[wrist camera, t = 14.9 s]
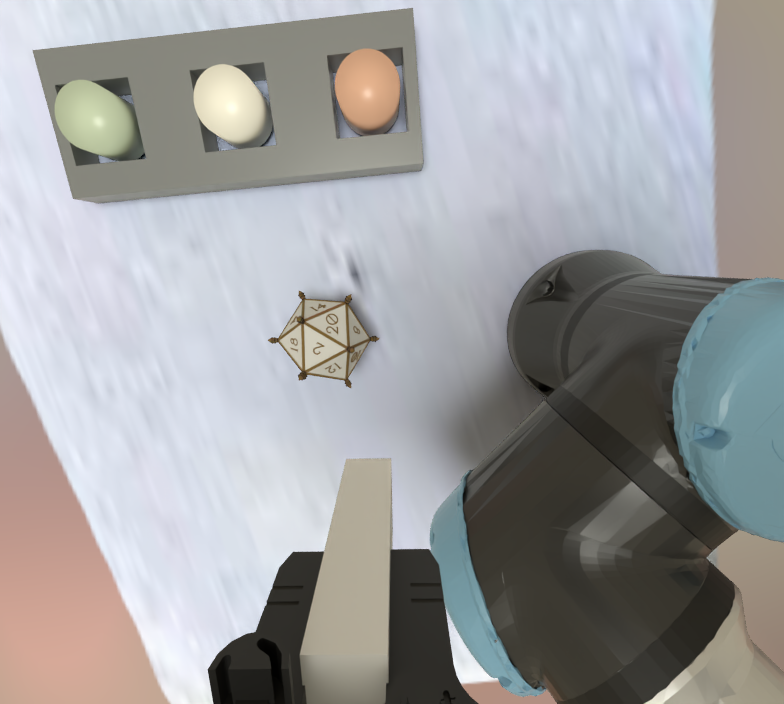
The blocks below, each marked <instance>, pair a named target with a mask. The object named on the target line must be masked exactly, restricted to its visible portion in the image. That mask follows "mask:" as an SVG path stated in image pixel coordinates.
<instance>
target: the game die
mask: <svg viewBox="0 0 784 704" xmlns="http://www.w3.org/2000/svg"><path fill="white" fill-rule="evenodd" d="M298 296H300V298H301V299H302V301H301V303H300V305H299V306H298V308H297V309H296V311H295V313H294V314H293V316H292V317H291V319H290V321H289V322H288V324H287V325H286V327H285V328H284V330H283V332H282V333H281V335H280V336H279V338H275V337H274V338H271V339H269V340H268V341H269V342H271V343H272V344H273V343H276V342H279V344H280V345H281V346H282V347H283V349H284V350H285V351H286V352H287V354H288V355H289V356H290V357H291V359H292V360H293V361H294V362H295V364H296V365H297V366H298V368H299V369H300V370H301V371H302V372H301V373H300V374H299V375H298V378H299V380H301V379H302V380H304V379H306V377H307V375H313V376H320V377H326V378H333V379H339V380H344V381H345V384H346V386H348V387H349V388H351V384H352V383H351V382H350V381H349V380H348V377H349V376H350V374H351V372H352V371H353V369H354V367H355V365H356V364H357V362H358V360H359V359H360V357H361V355H362V353H363V352H364V350H365V348H366V347H367V345H368V343H369V342H370V341H372V342H373V341H375V342H376V341H377V340H379V338H377V337H376V336H372V337H369V335H368V334H367V332H366V330H365V329H364V327H363V326H362V324H361V323H360V321H359V320H358V318H357V317H356V315H355V314H354V312H353V311H352V309H351V308H350V306H349V304H348V303H349V302H350V301H351V300H352V298H351V295H349V296H346V298H345V302H342V301H328V300H315V299H306V298H305V295H304V293H302V292H301V291H299V295H298Z"/></svg>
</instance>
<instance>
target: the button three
mask: <svg viewBox="0 0 784 704" xmlns="http://www.w3.org/2000/svg"><path fill="white" fill-rule="evenodd" d="M335 92H336V97H337V100H338V103H339V105H340V108H341V111H342V114H343V116H344V119H345V121H346V123H347V124H348V125H349V127H350V128H351V129H352V130H353V131H355V132H356V133H358V134H360V135H362V136H371V135H380V134H384V133H385V132H387V131H388V130H389V129H390V128H391V127H392V126H393V124H394V123H395V121H396V119H397V116H398V112H399V102H400V79H399V75H398V72H397V69H396V67H395V65H394V64H393V62H392V61H391V60H390V59H389V58H388V57H387V56H386V55H385V54H383V53H382V52H380V51H377V50H374V49H360V50H357V51H354V52H352V53H351V54H349V55H348V56H347V57H346V58H345V59H344V60H343V61H342V63H341V64H340V66H339V68H338V70H337V74H336V78H335Z"/></svg>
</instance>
